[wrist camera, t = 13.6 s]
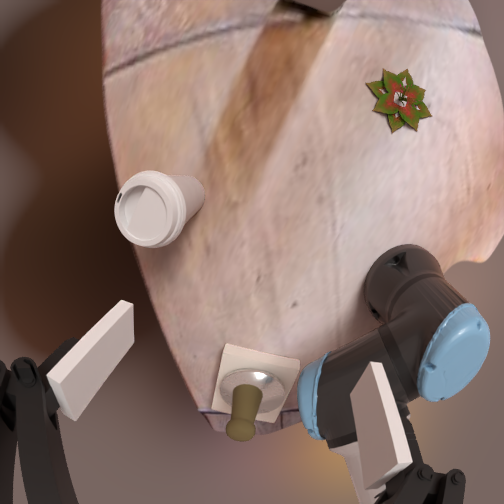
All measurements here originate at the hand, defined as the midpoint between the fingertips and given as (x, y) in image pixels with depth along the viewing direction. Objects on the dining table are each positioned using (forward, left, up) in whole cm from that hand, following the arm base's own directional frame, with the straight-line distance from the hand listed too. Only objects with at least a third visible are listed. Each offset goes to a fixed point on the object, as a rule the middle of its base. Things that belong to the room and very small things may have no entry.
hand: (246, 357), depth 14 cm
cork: (-3, +33, -27) cm, 43 cm away
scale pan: (-4, +33, -28) cm, 43 cm away
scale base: (-4, +35, -32) cm, 47 cm away
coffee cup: (+15, -1, -32) cm, 35 cm away
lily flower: (-15, -25, -32) cm, 44 cm away
